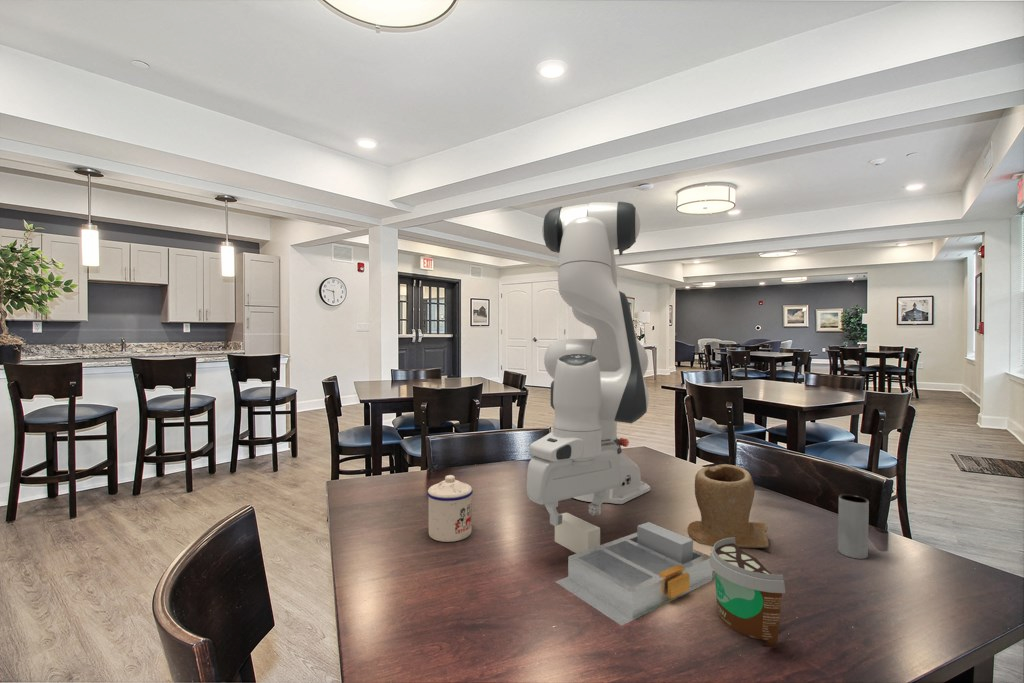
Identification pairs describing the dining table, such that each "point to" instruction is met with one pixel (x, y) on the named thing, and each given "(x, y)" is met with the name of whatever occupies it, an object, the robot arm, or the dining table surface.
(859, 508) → the grey hollow cylinder
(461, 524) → the teacup with lid
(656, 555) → the rack
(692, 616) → the dining table surface
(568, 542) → the beige rectangular block
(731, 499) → the stone cup
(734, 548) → the food container
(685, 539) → the gray rectangular block
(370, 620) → the dining table surface
